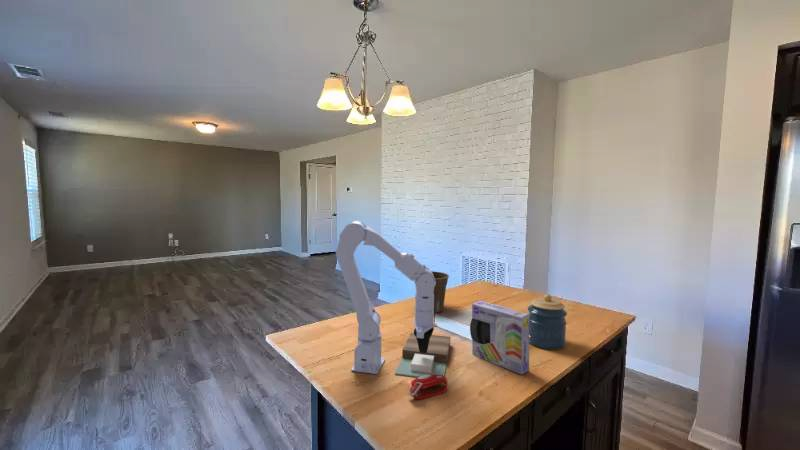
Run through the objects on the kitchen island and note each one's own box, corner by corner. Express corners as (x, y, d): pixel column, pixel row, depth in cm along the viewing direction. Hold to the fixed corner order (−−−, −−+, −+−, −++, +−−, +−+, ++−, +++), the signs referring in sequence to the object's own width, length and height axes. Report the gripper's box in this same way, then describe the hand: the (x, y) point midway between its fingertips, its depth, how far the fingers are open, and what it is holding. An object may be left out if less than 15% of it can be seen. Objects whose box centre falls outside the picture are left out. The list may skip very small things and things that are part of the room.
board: (446, 364, 107) (446, 354, 107) (402, 358, 110) (402, 349, 110) (450, 345, 121) (450, 336, 121) (410, 341, 124) (410, 332, 124)
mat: (443, 380, 98) (443, 379, 98) (394, 374, 101) (394, 373, 101) (446, 364, 107) (446, 363, 107) (401, 359, 110) (401, 358, 110)
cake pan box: (468, 353, 115) (469, 301, 114) (477, 349, 118) (479, 298, 117) (520, 377, 100) (523, 317, 99) (529, 371, 104) (532, 313, 102)
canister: (554, 354, 115) (556, 302, 114) (519, 341, 125) (521, 293, 124) (572, 344, 124) (574, 295, 122) (537, 332, 134) (539, 287, 132)
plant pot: (430, 301, 171) (431, 269, 170) (455, 310, 159) (456, 275, 157) (405, 308, 161) (406, 273, 159) (430, 317, 148) (431, 280, 147)
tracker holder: (410, 374, 99) (444, 367, 98) (413, 390, 99) (448, 384, 98) (405, 387, 87) (444, 380, 87) (409, 406, 87) (448, 399, 86)
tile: (430, 373, 101) (431, 366, 101) (410, 370, 102) (410, 363, 102) (434, 361, 108) (434, 355, 108) (415, 359, 109) (415, 353, 109)
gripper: (434, 317, 98) (433, 364, 99) (440, 302, 112) (439, 343, 113) (409, 315, 99) (409, 361, 100) (418, 300, 113) (417, 341, 114)
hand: (423, 351), depth 107 cm, fingers closed
